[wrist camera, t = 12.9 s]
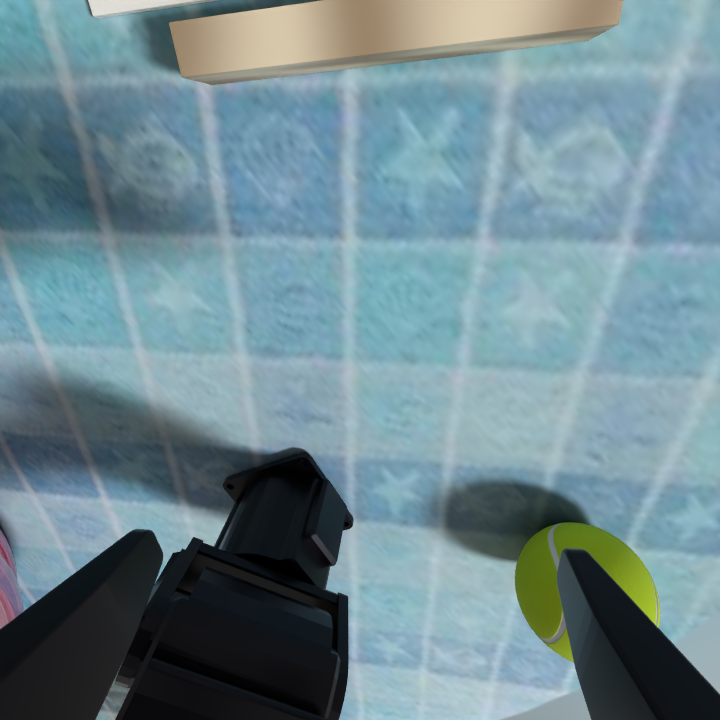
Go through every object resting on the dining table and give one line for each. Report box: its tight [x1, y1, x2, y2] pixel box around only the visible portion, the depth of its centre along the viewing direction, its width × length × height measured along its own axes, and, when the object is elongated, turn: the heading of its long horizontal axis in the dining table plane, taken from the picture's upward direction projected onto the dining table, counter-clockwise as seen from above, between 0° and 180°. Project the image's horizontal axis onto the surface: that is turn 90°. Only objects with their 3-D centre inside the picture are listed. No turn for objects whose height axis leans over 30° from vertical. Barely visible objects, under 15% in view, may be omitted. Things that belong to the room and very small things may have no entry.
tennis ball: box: [515, 522, 660, 662], centre depth 23 cm, size 7×7×7 cm
